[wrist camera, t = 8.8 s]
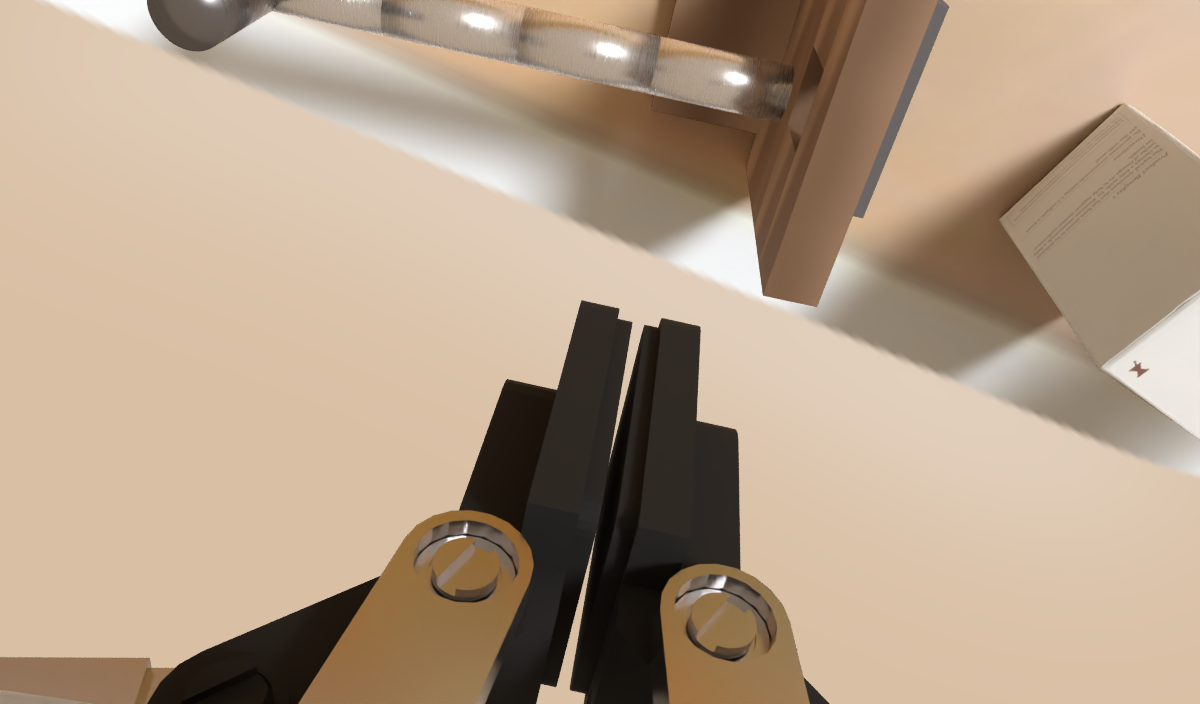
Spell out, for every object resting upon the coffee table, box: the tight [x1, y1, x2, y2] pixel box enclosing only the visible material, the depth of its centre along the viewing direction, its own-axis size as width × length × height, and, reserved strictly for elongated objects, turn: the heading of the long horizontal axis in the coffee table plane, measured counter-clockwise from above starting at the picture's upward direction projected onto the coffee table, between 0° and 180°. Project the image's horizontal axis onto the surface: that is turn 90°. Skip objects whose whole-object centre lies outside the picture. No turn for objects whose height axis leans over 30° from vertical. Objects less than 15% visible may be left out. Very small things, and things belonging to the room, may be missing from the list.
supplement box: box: [999, 103, 1200, 440], centre depth 36 cm, size 7×7×13 cm
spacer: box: [853, 0, 949, 218], centre depth 35 cm, size 2×8×8 cm, turn 169°
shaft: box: [147, 0, 794, 123], centre depth 30 cm, size 20×2×6 cm, turn 79°
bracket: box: [651, 0, 938, 307], centre depth 33 cm, size 7×12×12 cm, turn 169°
